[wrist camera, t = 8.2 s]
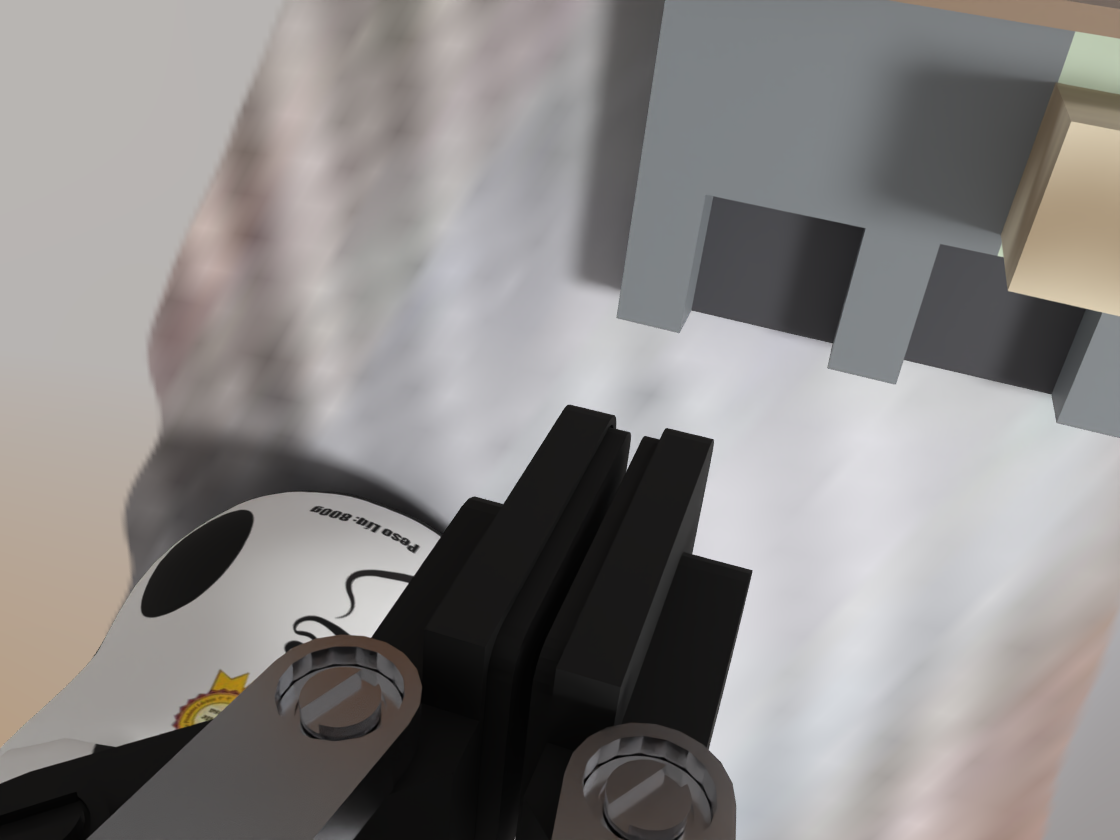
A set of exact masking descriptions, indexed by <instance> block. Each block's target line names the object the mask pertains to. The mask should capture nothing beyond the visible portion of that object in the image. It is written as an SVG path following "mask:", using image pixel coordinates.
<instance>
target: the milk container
mask: <svg viewBox="0 0 1120 840" xmlns="http://www.w3.org/2000/svg"><path fill="white" fill-rule="evenodd" d="M441 536H442V534H441V533H439V532H438V531H436V530H435V529H433V528H432V527H430V526H428V525H427V524H425V523H424V522H422V521H420V520H418V519H416V518H414V517H412V516H409V515H407V514H405V513H403V512H400V511H397V510H395V509H392V508H390V507H387V506H384V505H382V504H379V503H376V502H374V501H371V500H368V499H364V498H361V497H358V496H354V495H348V494H341V493H330V492H314V491H290V492H285V493H279V494H273V495H267V496H263V497H259V498H255V499H251V500H249V501H246V502H243V503H241V504H238V505H236V506H234V507H233V508H231V509H229V510H227V511H225V512H223V513H221V514H219V515H218V516H216V517H214V518H212V519H210V520H209V521H207V522H205V523H204V524H202V525H201V526H199V527H198V528H196V529H195V530H193V531H192V532H191V533H189V534H188V535H186V536H185V537H184V538H182V539H181V540H179V541H178V542H177V543H176V544H174V545H173V546H172V547H171V548H170V549H169V550H168V551H167V552H166V553H165V554H163V555H162V556H161V557H160V558H159V559H158V560H157V561H156V562H155V563H154V564H153V565H152V566H151V567H150V569H149V570H148V571H147V572H146V573H145V575H144V576H143V577H142V578H141V579H140V581H139V582H138V583H137V584H136V585H135V587H134V589H133V590H132V592H131V593H130V595H129V597H128V598H127V600H126V601H125V603H124V605H123V606H122V608H121V610H120V611H119V613H118V615H117V617H116V619H115V620H114V622H113V624H112V626H111V628H110V630H109V631H108V633H107V635H106V637H105V639H104V641H103V642H102V644H101V646H100V647H99V649H98V651H97V652H96V654H95V655H94V657H93V658H92V660H91V661H90V662H89V663H88V664H87V665H86V667H85V668H84V669H83V670H82V671H81V672H80V673H79V674H78V675H77V676H76V677H75V678H74V679H73V680H72V681H71V682H70V683H69V684H68V685H67V686H66V687H65V688H64V689H63V690H62V691H61V692H59V693H58V694H57V696H55V697H54V698H53V699H52V700H51V701H50V702H49V703H48V704H47V705H45V706H44V707H43V708H42V709H41V710H40V711H39V712H38V713H37V714H36V715H34V716H33V717H32V718H31V719H30V720H29V721H28V722H27V723H26V724H25V725H23V727H21V728H20V729H19V730H18V731H17V732H16V733H15V734H14V735H13V736H12V737H11V738H10V739H9V740H8V741H7V742H6V743H5V744H4V745H3V746H2V747H1V748H0V784H1V783H3V782H5V781H8V780H10V779H13V778H15V777H18V776H20V775H23V774H25V773H28V772H30V771H34V770H37V769H41V768H44V767H48V766H51V765H55V764H58V763H62V762H65V761H69V760H72V759H76V758H79V757H83V756H86V755H90V754H93V753H97V752H100V751H104V750H107V749H111V748H114V747H118V746H121V745H124V744H128V743H131V742H135V741H138V740H142V739H145V738H149V737H152V736H156V735H159V734H163V733H166V732H170V731H173V730H177V729H180V728H184V727H187V726H191V725H194V724H198V723H201V722H205V721H208V720H212V719H214V718H215V717H216V716H217V715H218V714H219V713H220V712H221V711H223V710H224V709H225V708H226V707H227V706H228V705H229V704H230V703H231V702H232V701H233V700H234V699H235V698H236V697H237V696H238V695H239V694H240V693H242V692H243V691H244V690H245V689H246V688H247V687H248V686H249V685H250V684H251V683H252V682H253V681H254V680H255V679H256V678H257V677H258V676H259V675H261V674H262V673H263V672H264V671H265V670H266V669H267V668H268V667H269V666H270V665H271V664H272V663H273V662H274V661H275V660H277V659H278V658H280V657H281V656H282V655H284V654H285V653H287V652H288V651H289V650H291V649H292V648H294V647H296V646H298V645H301V644H304V643H306V642H309V641H311V640H314V639H316V638H322V637H329V636H335V635H356V636H366V637H370V638H371V637H372V636H373V634H374V633H375V631H376V630H377V628H378V627H379V625H380V624H381V623H382V621H383V620H384V618H385V617H386V615H387V614H388V612H389V611H390V610H391V608H392V607H393V605H394V604H395V602H396V601H397V599H398V598H399V597H400V595H401V594H402V592H403V591H404V589H405V588H406V586H407V585H408V584H409V582H410V581H411V579H412V578H413V576H414V575H415V573H416V572H417V571H418V569H419V568H420V566H421V565H422V563H423V562H424V560H425V559H426V558H427V556H428V555H429V553H430V552H431V550H432V549H433V547H434V546H435V545H436V543H437V542H438V540H439V539H440V537H441Z"/></svg>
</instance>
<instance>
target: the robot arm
mask: <svg viewBox="0 0 1120 840" xmlns="http://www.w3.org/2000/svg"><path fill="white" fill-rule="evenodd" d="M630 441H631V434H630V432H627V431H622V430H618V429H616V417H615V415H610V414H606V413H602V412H598V411H594V410H590V409H586V408H581V407H577V406H573V405H567V406H566V407H565V408H564V410H563V411H562V413H561V414H560V416H559V418H558V419H557V421H556V422H555V424H554V425H553V427H552V429H551V430H550V432H549V433H548V435H547V437H546V438H545V440H544V441H543V443H542V444H541V446H540V448H539V449H538V451H537V452H536V454H535V455H534V457H533V459H532V460H531V462H530V463H529V465H528V466H527V468H526V470H525V471H524V473H523V474H522V476H521V477H520V479H519V481H518V482H517V484H516V485H515V487H514V488H513V490H512V492H511V493H510V495H509V496H508V498H507V499H506V501H505V503H504V504H501V503H497V502H493V501H489V500H486V499H482V498H478V497H472V498H469V499H468V500H467V501H466V502H465V503H464V505H463V506H462V507H461V508H460V510H459V511H458V513H457V514H456V516H455V517H454V519H453V520H452V521H451V523H450V524H449V526H448V527H447V529H446V530H445V532H444V533H443V534H442V536H441V537H440V539H439V540H438V542H437V543H436V545H435V546H434V547H433V549H432V550H431V552H430V553H429V555H428V556H427V558H426V559H425V560H424V562H423V563H422V565H421V566H420V568H419V569H418V571H417V572H416V573H415V575H414V576H413V578H412V579H411V581H410V582H409V584H408V585H407V586H406V588H405V589H404V591H403V592H402V594H401V595H400V597H399V598H398V599H397V601H396V602H395V604H394V605H393V607H392V608H391V610H390V611H389V612H388V614H387V615H386V617H385V618H384V620H383V621H382V623H381V624H380V625H379V627H378V628H377V630H376V631H375V633H374V634H373V636H372V637H371V638H370V637H366V636H356V635H335V636H329V637H322V638H316V639H314V640H311V641H309V642H306V643H304V644H301V645H298V646H296V647H294V648H292V649H291V650H289V651H288V652H287V653H285V654H284V655H282V656H281V657H280V658H278V659H277V660H275V661H274V662H273V663H272V664H271V665H270V666H269V667H268V668H267V669H266V670H265V671H264V672H263V673H262V674H261V675H259V676H258V677H257V678H256V679H255V680H254V681H253V682H252V683H251V684H250V685H249V686H248V687H247V688H246V689H245V690H244V691H243V692H242V693H240V694H239V695H238V696H237V697H236V698H235V699H234V700H233V701H232V702H231V703H230V704H229V705H228V706H227V707H226V708H225V709H224V710H223V711H221V712H220V713H219V714H218V715H217V716H216V717H215V718H214V719H212V720H208V721H205V722H201V723H198V724H194V725H191V726H187V727H184V728H180V729H177V730H173V731H170V732H166V733H163V734H159V735H156V736H152V737H149V738H145V739H142V740H138V741H135V742H131V743H128V744H124V745H121V746H118V747H114V748H111V749H107V750H104V751H100V752H97V753H93V754H90V755H86V756H83V757H79V758H76V759H72V760H69V761H65V762H62V763H58V764H55V765H51V766H48V767H44V768H41V769H37V770H34V771H30V772H28V773H25V774H23V775H20V776H18V777H15V778H13V779H10V780H8V781H5V782H3V783H1V784H0V840H514V839H515V840H735V838H736V801H735V796H734V790H733V784H732V782H731V780H730V778H729V776H728V774H727V772H726V771H725V769H724V767H723V765H722V763H721V762H720V761H719V760H718V759H717V758H716V757H715V756H714V755H713V754H712V753H711V752H710V751H709V746H710V742H711V738H712V734H713V730H714V726H715V722H716V718H717V714H718V710H719V706H720V702H721V698H722V694H723V690H724V686H725V682H726V678H727V674H728V670H729V666H730V662H731V658H732V654H733V650H734V646H735V642H736V638H737V634H738V630H739V625H740V621H741V617H742V613H743V609H744V605H745V601H746V596H747V592H748V588H749V584H750V580H751V575H752V570H749V569H745V568H741V567H738V566H734V565H730V564H726V563H723V562H719V561H715V560H711V559H707V558H704V557H700V556H696V555H692V552H693V547H694V542H695V537H696V532H697V527H698V522H699V517H700V512H701V507H702V502H703V497H704V492H705V487H706V482H707V477H708V472H709V467H710V462H711V457H712V452H713V445H714V439H710V438H706V437H702V436H697V435H693V434H689V433H685V432H681V431H677V430H673V429H668V428H666V429H665V430H664V432H663V434H662V436H661V438H660V440H659V439H655V438H651V437H647V436H644V437H643V439H642V440H641V442H640V445H639V447H638V449H637V451H636V453H635V455H634V457H633V459H632V461H631V463H630V465H629V467H628V469H627V462H628V456H629V449H630ZM626 469H627V471H626ZM515 837H516V838H515Z"/></svg>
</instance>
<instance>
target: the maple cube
mask: <svg viewBox="0 0 1120 840" xmlns="http://www.w3.org/2000/svg"><path fill="white" fill-rule="evenodd" d="M1001 240H1002V248H1003V256H1004V264H1005V272H1006V280H1007V288H1008V291H1011V292H1015V293H1019V294H1024V295H1028V296H1033V297H1037V298H1041V299H1046V300H1050V301H1055V302H1059V303H1063V304H1068V305H1072V306H1076V307H1081V308H1085V309H1090V310H1094V311H1098V312H1103V313H1107V314H1112V315H1116V316H1120V94H1115V93H1109V92H1104V91H1099V90H1093V89H1088V88H1083V87H1078V86H1072V85H1067V84H1062V83H1055V86H1054V89H1053V92H1052V94H1051V97H1050V100H1049V103H1048V106H1047V108H1046V111H1045V114H1044V117H1043V119H1042V122H1041V125H1040V128H1039V130H1038V133H1037V136H1036V139H1035V142H1034V144H1033V147H1032V150H1031V153H1030V155H1029V158H1028V161H1027V164H1026V167H1025V169H1024V172H1023V175H1022V178H1021V180H1020V183H1019V186H1018V189H1017V192H1016V194H1015V197H1014V200H1013V203H1012V205H1011V208H1010V211H1009V214H1008V217H1007V219H1006V222H1005V225H1004V228H1003V230H1002V233H1001Z"/></svg>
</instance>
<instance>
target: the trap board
mask: <svg viewBox="0 0 1120 840" xmlns="http://www.w3.org/2000/svg"><path fill="white" fill-rule="evenodd" d="M1055 83H1062V84H1067V85H1072V86H1078V87H1083V88H1088V89H1093V90H1099V91H1104V92H1109V93H1115V94H1120V0H665V4H664V10H663V17H662V23H661V30H660V36H659V43H658V49H657V56H656V63H655V69H654V76H653V82H652V89H651V95H650V102H649V108H648V115H647V121H646V128H645V135H644V141H643V148H642V154H641V161H640V167H639V174H638V180H637V187H636V193H635V200H634V207H633V213H632V220H631V226H630V233H629V239H628V246H627V252H626V259H625V265H624V272H623V279H622V285H621V292H620V298H619V305H618V311H617V318H618V319H622V320H627V321H631V322H635V323H639V324H643V325H648V326H652V327H656V328H660V329H664V330H669V331H673V332H677V333H680V331H681V329H682V327H683V325H684V323H685V322H686V320H687V318H688V316H689V314H690V312H691V310H692V311H697V312H701V313H705V314H709V315H714V316H718V317H722V318H727V319H731V320H735V321H739V322H744V323H748V324H752V325H757V326H761V327H765V328H769V329H774V330H778V331H782V332H787V333H791V334H795V335H799V336H804V337H808V338H812V339H817V340H821V341H825V342H829V343H833V345H832V349H831V354H830V358H829V363H828V367H827V368H828V369H832V370H836V371H841V372H845V373H849V374H853V375H857V376H862V377H866V378H870V379H874V380H878V381H883V382H887V383H891V384H895V385H896V382H897V379H898V376H899V373H900V370H901V366H902V363H903V360H907V361H911V362H915V363H919V364H924V365H928V366H932V367H937V368H941V369H945V370H949V371H954V372H958V373H962V374H967V375H971V376H975V377H979V378H984V379H988V380H992V381H997V382H1001V383H1005V384H1009V385H1014V386H1018V387H1022V388H1027V389H1031V390H1035V391H1039V392H1044V393H1048V394H1052V400H1053V405H1054V411H1055V417H1056V422H1057V423H1059V424H1063V425H1067V426H1071V427H1076V428H1080V429H1084V430H1088V431H1092V432H1097V433H1101V434H1105V435H1109V436H1113V437H1118V438H1120V316H1116V315H1112V314H1107V313H1103V312H1098V311H1094V310H1090V309H1085V308H1081V307H1076V306H1072V305H1068V304H1063V303H1059V302H1055V301H1050V300H1046V299H1041V298H1037V297H1033V296H1028V295H1024V294H1019V293H1015V292H1011V291H1008V288H1007V280H1006V272H1005V264H1004V256H1003V248H1002V240H1001V233H1002V230H1003V228H1004V225H1005V222H1006V219H1007V217H1008V214H1009V211H1010V208H1011V205H1012V203H1013V200H1014V197H1015V194H1016V192H1017V189H1018V186H1019V183H1020V180H1021V178H1022V175H1023V172H1024V169H1025V167H1026V164H1027V161H1028V158H1029V155H1030V153H1031V150H1032V147H1033V144H1034V142H1035V139H1036V136H1037V133H1038V130H1039V128H1040V125H1041V122H1042V119H1043V117H1044V114H1045V111H1046V108H1047V106H1048V103H1049V100H1050V97H1051V94H1052V92H1053V89H1054V86H1055Z"/></svg>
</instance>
